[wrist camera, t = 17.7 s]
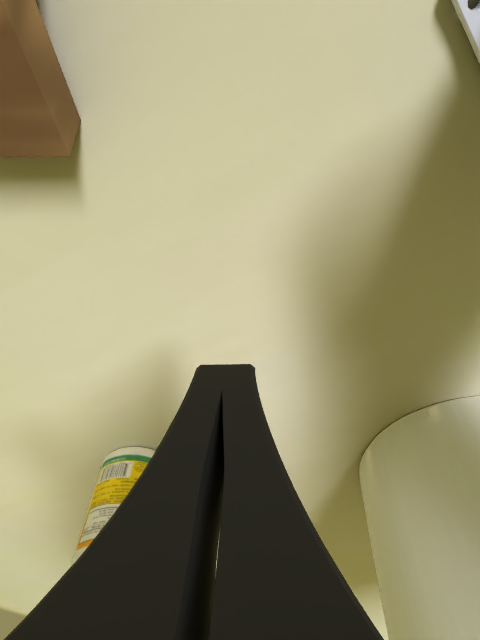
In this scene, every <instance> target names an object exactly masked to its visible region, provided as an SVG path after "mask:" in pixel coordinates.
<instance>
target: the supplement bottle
mask: <svg viewBox="0 0 480 640" xmlns="http://www.w3.org/2000/svg"><path fill="white" fill-rule="evenodd" d="M154 453H155V450H152V449H148V448H143V447H125V448H120V449H117V450H115V451H113V452H111V453H110V454H109V455H107V456H106V458H105V459H104V461H103V462H102V465H101V468H100V472H99V475H98V478H97V481H96V485H95V488H94V491H93V494H92V497H91V501H90V504H89V507H88V511H87V514H86V517H85V520H84V523H83V527H82V530H81V533H80V536H79V539H78V542H77V546H76V549H75V552H74V555H73V559H72V565H73V564H74V563H75V562H76V560H77V559H78V558H79V557H80V556H81V554H82V553H83V552H84V551H85V550H86V548H87V547H88V546H89V545H90V543H91V542H92V541H93V540H94V538H95V537H96V536H97V535H98V533H99V532H100V531H101V529H102V528H103V527H104V526H105V524H106V523H107V522H108V520H109V519H110V518H111V517H112V515H113V514H114V513H115V511H116V510H117V508H118V507H119V506H120V504H121V503H122V501H123V500H124V499H125V497H126V496H127V494H128V493H129V492H130V490H131V489H132V487H133V486H134V484H135V483H136V481H137V480H138V478H139V477H140V475H141V474H142V472H143V471H144V469H145V467H146V466H147V464H148V463H149V461H150V459H151V458H152V456H153V454H154Z"/></svg>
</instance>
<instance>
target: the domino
mask: <svg viewBox="0 0 480 640" xmlns="http://www.w3.org/2000/svg"><path fill="white" fill-rule="evenodd" d="M80 121H81V119H80V117H79V114H78V111H77V109H76V106H75V104H74V101H73V98H72V96H71V93H70V90H69V88H68V85H67V83H66V80H65V77H64V75H63V72H62V69H61V67H60V64H59V62H58V59H57V56H56V54H55V51H54V48H53V46H52V43H51V41H50V38H49V35H48V33H47V30H46V27H45V25H44V22H43V20H42V17H41V14H40V12H39V9H38V6H37V4H36V1H35V0H0V157H48V156H70V154H71V151H72V147H73V144H74V141H75V138H76V134H77V131H78V128H79V125H80Z"/></svg>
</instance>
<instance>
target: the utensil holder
mask: <svg viewBox="0 0 480 640" xmlns="http://www.w3.org/2000/svg"><path fill="white" fill-rule="evenodd" d="M359 477H360V484H361V491H362V497H363V502H364V508H365V514H366V520H367V526H368V532H369V538H370V543H371V549H372V554H373V559H374V564H375V569H376V574H377V580H378V585H379V590H380V595H381V601H382V606H383V611H384V616H385V622H386V627H387V632H388V637H389V640H480V396H473V397H465V398H459V399H454V400H449V401H445V402H441V403H438V404H434V405H431V406H428V407H425V408H423V409H420V410H418V411H415V412H413V413H411V414H409V415H406V416H404V417H402V418H401V419H399V420H397V421H396V422H394V423H393V424H391V425H390V426H388V427H387V428H386V429H384V430H383V431H382V432H381V433H379V434H378V435H377V436H376V437H375V439H374V440H373V441H372V442H371V444H370V445H369V446H368V448H367V449H366V450H365V453H364V455H363V457H362V459H361V462H360V468H359Z"/></svg>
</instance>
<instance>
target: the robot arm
mask: <svg viewBox="0 0 480 640" xmlns="http://www.w3.org/2000/svg"><path fill="white" fill-rule="evenodd" d="M451 1H452V3H453V5H454V8H455V10H456V12H457V14H458V17H459V19H460V21H461V23H462V26H463V28H464V30H465V32H466V34H467V37H468V39H469V41H470V43H471V46H472V48H473V50H474V52H475V55H476V57H477V59H478V61H479V63H480V1H479V3H478V5H477V6H476V7H475V8H473V9H471V10H470V9H469V8H468V3H467V2H468V0H451ZM219 533H220V536H219ZM218 540H219V547H218ZM217 549H218V557H217ZM216 560H217V568H216ZM215 575H216V578H215ZM4 640H384V639H383V638H382V636H381V635H380V633H379V632H378V630H377V629H376V627H375V626H374V624H373V623H372V621H371V620H370V618H369V617H368V615H367V614H366V612H365V610H364V609H363V607H362V606H361V604H360V603H359V601H358V600H357V598H356V597H355V595H354V594H353V592H352V590H351V589H350V587H349V585H348V584H347V582H346V580H345V579H344V577H343V575H342V574H341V572H340V571H339V569H338V567H337V566H336V564H335V562H334V561H333V559H332V557H331V556H330V554H329V552H328V551H327V549H326V547H325V546H324V544H323V542H322V540H321V538H320V537H319V535H318V533H317V531H316V529H315V528H314V526H313V524H312V522H311V520H310V518H309V516H308V515H307V513H306V511H305V509H304V507H303V505H302V503H301V501H300V499H299V497H298V495H297V493H296V491H295V489H294V487H293V484H292V482H291V480H290V478H289V476H288V474H287V471H286V469H285V467H284V464H283V462H282V460H281V458H280V455H279V453H278V450H277V448H276V445H275V443H274V440H273V437H272V434H271V432H270V429H269V426H268V423H267V421H266V418H265V414H264V411H263V408H262V404H261V401H260V397H259V393H258V388H257V383H256V376H255V367H253V366H252V365H251V364H232V365H200V366H199V367H198V368H197V369H196V371H195V374H194V377H193V379H192V382H191V384H190V387H189V389H188V391H187V393H186V395H185V398H184V400H183V402H182V404H181V406H180V408H179V410H178V412H177V414H176V416H175V418H174V419H173V421H172V423H171V425H170V427H169V429H168V430H167V432H166V434H165V436H164V438H163V440H162V441H161V443H160V445H159V446H158V448H157V450H156V451H155V453H154V454H153V456H152V458H151V459H150V461H149V463H148V464H147V466H146V467H145V469H144V471H143V472H142V474H141V475H140V477H139V478H138V480H137V481H136V483H135V484H134V486H133V487H132V489H131V490H130V492H129V493H128V494H127V496H126V497H125V499H124V500H123V501H122V503H121V504H120V506H119V507H118V508H117V510H116V511H115V513H114V514H113V515H112V517H111V518H110V519H109V520H108V522H107V523H106V524H105V526H104V527H103V528H102V529H101V531H100V532H99V533H98V535H97V536H96V537H95V538H94V540H93V541H92V542H91V543H90V545H89V546H88V547H87V548H86V550H85V551H84V552H83V553H82V554H81V556H80V557H79V558H78V559H77V560H76V562H75V563H74V564H73V565H72V566H71V567H70V569H69V570H68V571H67V572H66V573H65V574H64V575H63V576H62V578H61V579H60V580H59V581H58V582H57V583H56V584H55V585H54V587H53V588H52V589H51V590H50V591H49V592H48V593H47V594H46V596H45V597H44V598H43V599H42V600H41V601H40V602H39V603H38V605H37V606H36V607H35V608H34V609H33V610H32V611H31V612H30V613H29V614H28V615H27V616H26V618H25V619H24V620H23V621H22V622H21V623H20V624H19V625H18V626H17V627H16V628H15V629H14V630H13V631H12V632H11V633H10V634H9V635H8V636H7V637H6V638H5V639H4Z"/></svg>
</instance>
